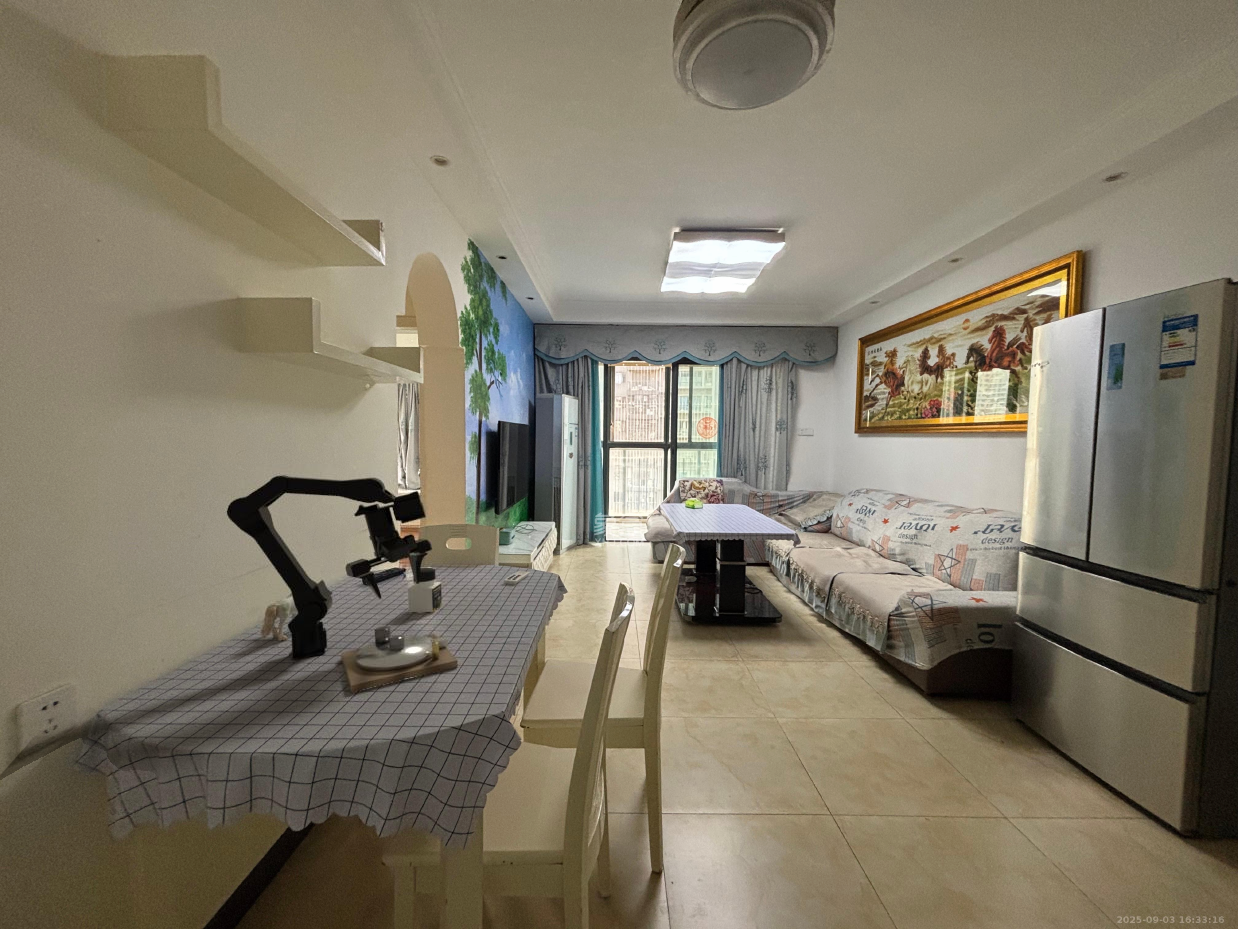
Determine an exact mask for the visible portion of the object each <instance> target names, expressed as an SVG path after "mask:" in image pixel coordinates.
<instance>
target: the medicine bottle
mask: <svg viewBox="0 0 1238 929" xmlns="http://www.w3.org/2000/svg"><path fill="white" fill-rule="evenodd" d="M436 575H437V574H436V569H435V568H434V567H431V566H423V567H422V566H421V569H420V580H419V584H416V582H415V580H414V577H413V576H412V577H413V585H412V586H410V587H408V589H407V598H408V599H407V602H408V604H407V605H408V613H409V612H433V613H435V612H436V611H437V610H438V609H439V608H441V607H442V606H443V601H442V600H443V598H442V597H443V596H442V582H441V581H437V579H436ZM441 605H442V606H441ZM437 608H438V609H437ZM436 609H437V610H436ZM435 610H436V611H435Z"/></svg>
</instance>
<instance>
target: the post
mask: <svg viewBox="0 0 1238 929" xmlns="http://www.w3.org/2000/svg"><path fill="white" fill-rule="evenodd" d="M405 636H406V635H402V634H397V635H393V636H391V637H390V638H389V640H390V650H391V651H397V650H401V649H404V648H405Z"/></svg>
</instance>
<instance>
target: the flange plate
mask: <svg viewBox="0 0 1238 929" xmlns="http://www.w3.org/2000/svg"><path fill="white" fill-rule="evenodd" d="M404 636H405V648H404V649H401V650H397V651H391V650H390V640H389V638H390V637H392V636H391V627H390V626H388V625H387V626H379V627H377V628H374V642H372V643H370V644H367V645H364V646H363V647H362V649H361V648H360V649H361V650H359V651H358V652H357V654H356V664H357V666H358V667H359V668H361V669H364V670H369V671H389V670H397V669H402V668H407V667H410V666H414V665H417V664H419V663H422V662H424V661H426V660H428V659H430V658H431V657H432V642H439V648H441V647H449V638H448V637H447V636H442V637H438V638H437V639H433V638H431V637H427V636H424V635H421V634H420V635H419V634H418V635H416V634H415V635H413V634H411V635H409V634H408V635H404Z"/></svg>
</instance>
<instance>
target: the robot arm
mask: <svg viewBox="0 0 1238 929" xmlns="http://www.w3.org/2000/svg"><path fill="white" fill-rule="evenodd" d="M285 494H293V495H294V494H295V495H311V496H312V495H313V496H329V497H340V498H344V499H349V500H352V501H355V502H359V503H361V504H360V505H358V508H357V510H356V512H355V513H354V514H353V515H354V516H355V517H360V516H363V515H364V516H363V517H364V519H365V523H366V525H367V529H368V532H369V536H368V537H369V540H370V541H371V543H372V544H371V545H372V547H373V550H374V552H373V555H374V558H372V559H366V558H359V559H357V560H354V561H351V562H348V563H346V565H345V572H346V576H347V577H350V578H357V579H361V580H362V581H363V582H364V583H365V584H366V585H367V586H368V587H369V588H370V590H371V591H372V592H373V594H374V595H375V596H376V597H377V598H378V600H381V599H382V595H381V594H382V593H381V591H380V588H379V585H378V584H377V581H376V578H375V572H373V571H371V569H372V568H374V567H376V566H380V565H383V564H385V563H388V562H389V563H390V564H393V563H394V564H395V563H398V561H401V560H404V559H408V560H409V564H410V570H411V572H412V575H413V576H412V577H414V580H415V582H416V584H419V580H420V569H421V568H422V562H423V561H424V558H425V557H426V556H428V554H429V553H428V552H430V551H432V550H433V547H432V543H431V542H430V540H428V539H424V538H422V539H421V538H419V539H416V538H415V535H414V534H411V533H410V534H407V535H404V536H403V537H401V536H400V533H399V531H398V529H397V528H396V526H395V522H394V519H395V521H396V522H397V521H398V522H401V524H407V523H409V522H414V521H417V520H421V519H425V518H427V516H426V510H425V507H424V503H423V502H422V500H421V496H420V493H419V491H418V490H415V491H413V492H410V493H407V494H404V495H399V496H396V495H394V493H392V492H390V491H389V490H388V489H387V488H386V486H385V483H384V482H383V481H382V480H381V479H380V478H377V477H364V478H354V479H353V478H352V479H343V480H341V479H329V478H328V479H327V478H326V479H325V478H314V477H313V478H312V477H297V476H289V475H285V474H284V475H283V474H282V475H276V476H273V477H272V478H271V479H269V481H268V482H266V483H265V484H263V485H261V486H260V487H259V488H257V489H255V490H254V491H252V492H251V493H250V494H248V495H247V496H243V497H238V498H236V499H233V500H232V501H230V503H229V505H228V507H227V509H226V515H227V517H228V519H229V520H230V521H231V522H232V523H233V524H234V525H235V526H237V528H238V529H239V530H241V531H242V532H244V533H245V534H247V535H248V536H250V537H251V538H253V540H254V542H256V544H257V545H258V546H259V548H260V549H261V551H262V553H263V554H264V555H265V556H266V557H267V559H268V560H269V562H270V563H271V565H272V567H274V569H275V570H276V572H277V573H278V574H279V576H280V577H281V579H282V580H283V581H284V583H285V585H286V586H287V587H288V588H289V590H290V594H291V593H292V597H293V601H294V605H295V607H296V609H297V611H298V612H297V613H296V616H295V617H294V618H293V619H292V618H291V619H290V621H289V623H287V628H288V630H289V632H290V634H291V650H290V651H291V660H298V659H304V658H308V657H313V656H318V655H322V654H326V649H327V648H328V641H327V640H328V639H327V638H328V637H327V629H326V627H324V624H323V621H322V620H323V619H324V618H325V617H326V615H327V614H328V612H330V610H331V608H332V606H333V597H332V595H333V592H332V591H330V589H329V588H328V586H327V585H326V582H325V581H324V580H323V579H321V580H320V581H319V582H318V583H317V582H316V581H314V580H313V579H311V578H310V576H309V575H308V574H307V572H306V571H305V570H304V568H303V567H302V565H301V563H300V562H299V561H298V560H297V558H296V557H295V555H294V553H292V551H291V550H290V548H289V547H288V545H287V544H286V543H285V541H284V540H283V538H282V537H281V535H280V534H279V532H278V531H277V529H276V528H275V525H274V521H273V518H272V514H271V512H270V510H269V507H270V506H271V505H273V504H274V503H275V502H276V501H278V500H279V499H280V498H281V497H282V496H283V495H285ZM362 503H365V504H370V505H367V506H365V505H364V504H362ZM373 503H374V504H373ZM379 503H380V504H383V505H384V506H380V504H379ZM391 509H392V512H393V515H394V516H393V515H392V512H391ZM393 517H394V518H393Z"/></svg>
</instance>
